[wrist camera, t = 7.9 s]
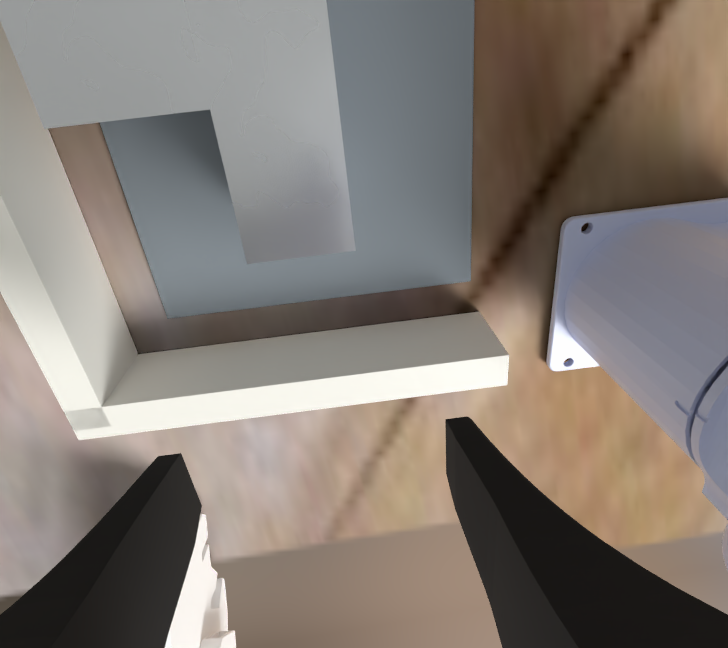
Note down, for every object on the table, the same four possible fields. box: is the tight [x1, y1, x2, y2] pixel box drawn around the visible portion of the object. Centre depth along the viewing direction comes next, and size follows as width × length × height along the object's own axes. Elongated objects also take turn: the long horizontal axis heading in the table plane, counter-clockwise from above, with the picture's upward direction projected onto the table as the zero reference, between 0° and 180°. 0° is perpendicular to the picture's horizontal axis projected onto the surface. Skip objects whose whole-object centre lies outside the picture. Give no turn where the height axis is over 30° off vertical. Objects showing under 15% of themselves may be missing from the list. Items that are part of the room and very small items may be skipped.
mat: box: [99, 0, 474, 319], centre depth 18 cm, size 14×12×1 cm
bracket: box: [0, 0, 356, 264], centre depth 15 cm, size 8×8×5 cm
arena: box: [0, 22, 509, 440], centre depth 16 cm, size 18×18×4 cm
